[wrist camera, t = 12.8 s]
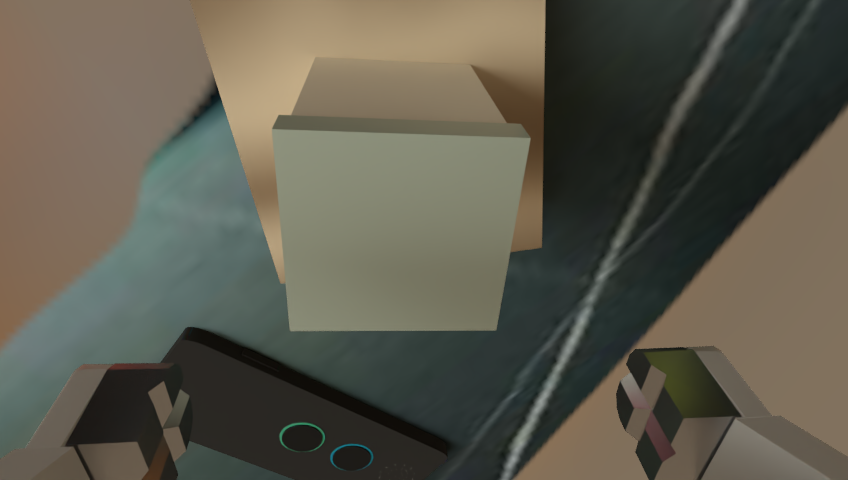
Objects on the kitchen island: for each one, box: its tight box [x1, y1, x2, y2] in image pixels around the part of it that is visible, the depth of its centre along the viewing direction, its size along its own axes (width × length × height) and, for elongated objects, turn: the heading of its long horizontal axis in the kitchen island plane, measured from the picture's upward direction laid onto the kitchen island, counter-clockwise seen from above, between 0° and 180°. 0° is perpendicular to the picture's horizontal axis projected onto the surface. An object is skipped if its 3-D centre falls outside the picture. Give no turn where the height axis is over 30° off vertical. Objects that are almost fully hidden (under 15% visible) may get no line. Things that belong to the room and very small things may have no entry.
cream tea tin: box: [272, 57, 531, 331], centre depth 17 cm, size 6×6×8 cm
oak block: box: [190, 0, 546, 283], centre depth 23 cm, size 12×12×5 cm
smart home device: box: [161, 327, 448, 480], centre depth 35 cm, size 8×2×20 cm
